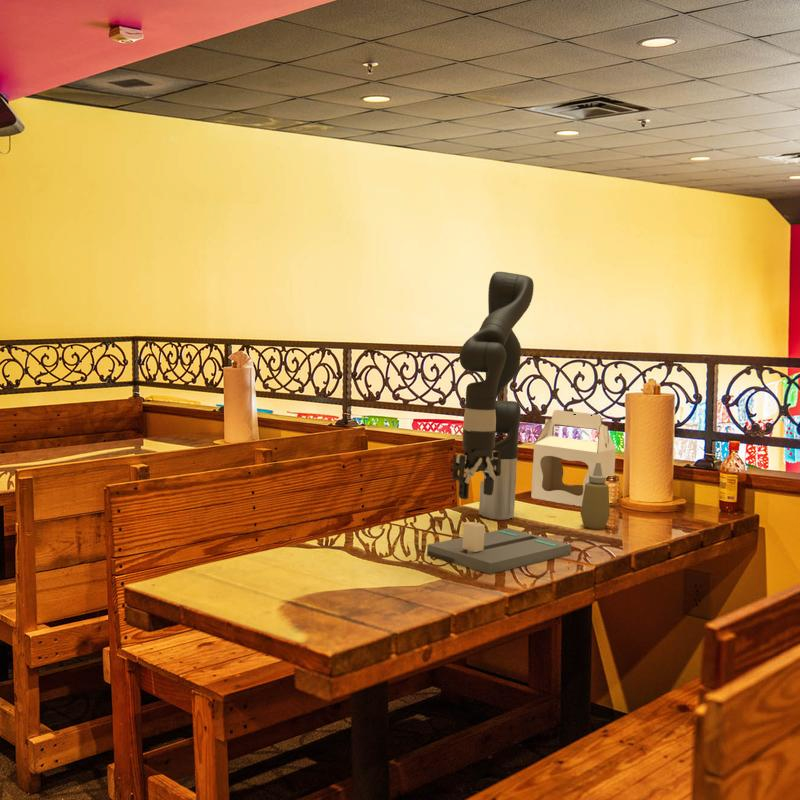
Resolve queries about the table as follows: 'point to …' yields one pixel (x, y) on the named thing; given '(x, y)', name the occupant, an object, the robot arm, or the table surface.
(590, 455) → the gable box
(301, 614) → the table surface
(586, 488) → the squeeze bottle
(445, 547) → the panel
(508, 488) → the robot arm
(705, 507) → the table surface
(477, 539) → the fader tab
